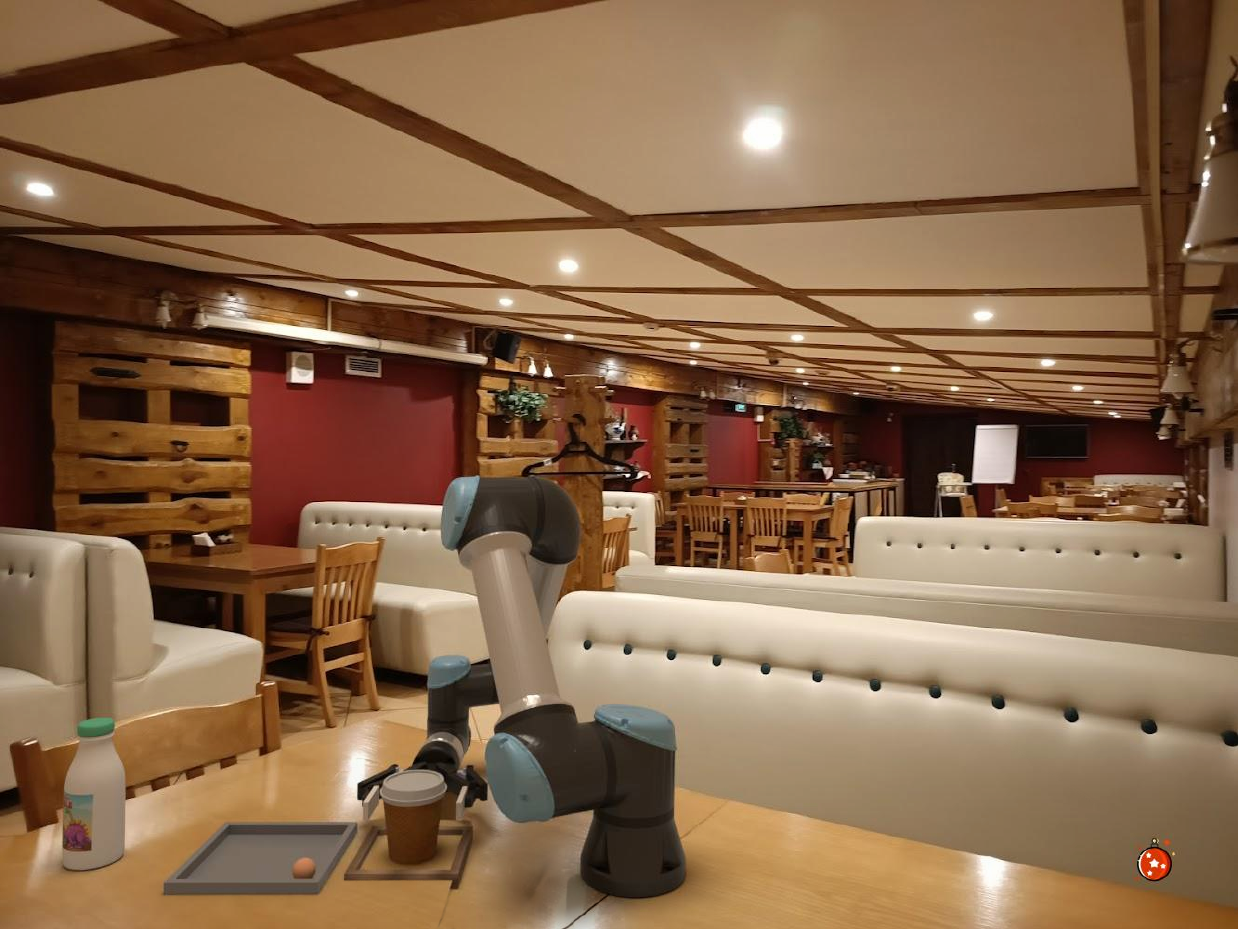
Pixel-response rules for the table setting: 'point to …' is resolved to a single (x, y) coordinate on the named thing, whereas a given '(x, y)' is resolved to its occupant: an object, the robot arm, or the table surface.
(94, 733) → the milk bottle
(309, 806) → the table surface
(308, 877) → the ball
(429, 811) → the disposable coffee cup
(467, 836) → the frame
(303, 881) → the tray
